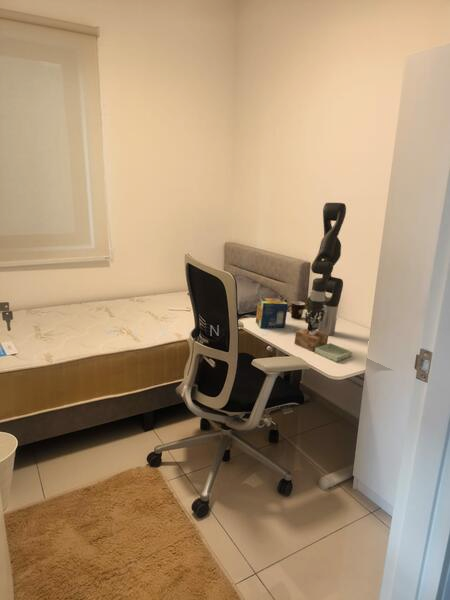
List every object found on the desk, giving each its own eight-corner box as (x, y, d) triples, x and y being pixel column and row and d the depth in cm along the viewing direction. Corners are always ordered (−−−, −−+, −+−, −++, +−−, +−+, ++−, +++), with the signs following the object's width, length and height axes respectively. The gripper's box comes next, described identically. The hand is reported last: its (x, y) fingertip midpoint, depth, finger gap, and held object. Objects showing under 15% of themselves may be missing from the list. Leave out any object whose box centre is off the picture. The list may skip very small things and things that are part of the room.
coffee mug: (301, 316, 256) (303, 301, 253) (304, 320, 247) (306, 305, 245) (283, 314, 255) (285, 300, 252) (286, 319, 247) (288, 304, 244)
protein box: (255, 322, 236) (258, 297, 231) (279, 322, 239) (282, 298, 235) (260, 328, 226) (263, 302, 222) (285, 328, 229) (288, 303, 225)
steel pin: (309, 343, 209) (312, 320, 206) (317, 346, 206) (320, 323, 202) (303, 344, 206) (307, 321, 203) (311, 348, 203) (314, 324, 199)
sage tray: (329, 347, 205) (330, 343, 204) (351, 356, 196) (352, 351, 195) (314, 353, 197) (315, 347, 196) (336, 362, 187) (337, 357, 186)
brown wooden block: (308, 339, 214) (310, 327, 212) (326, 347, 206) (328, 334, 204) (294, 343, 206) (296, 331, 205) (312, 351, 198) (314, 339, 196)
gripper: (319, 295, 206) (315, 325, 211) (302, 298, 197) (298, 329, 202) (331, 299, 201) (326, 329, 206) (315, 302, 192) (310, 334, 196)
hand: (312, 329), depth 204 cm, fingers closed on steel pin, 5 cm apart
